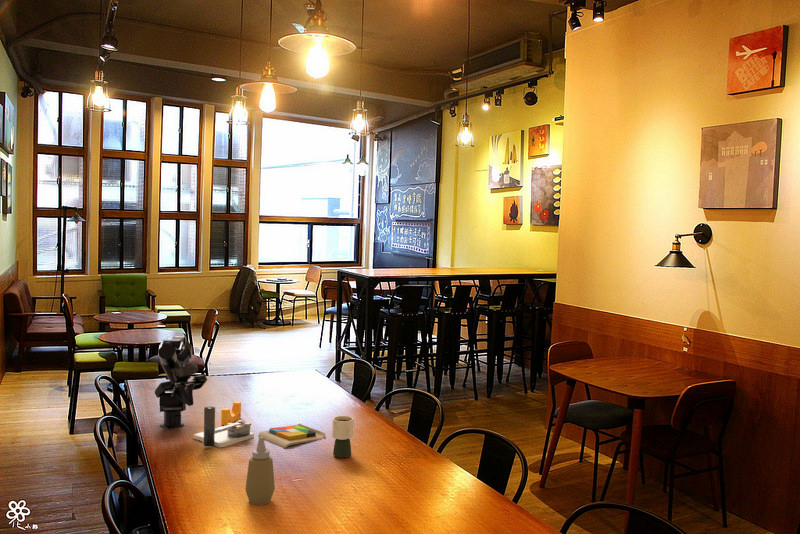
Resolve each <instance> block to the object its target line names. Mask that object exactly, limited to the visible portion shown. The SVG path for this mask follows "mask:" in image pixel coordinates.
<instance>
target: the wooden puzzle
mask: <svg viewBox="0 0 800 534" xmlns="http://www.w3.org/2000/svg"><path fill="white" fill-rule="evenodd" d="M260 437H263V438H264V441H265V442H268V443H271V444H272V445H275V446H278V447H280V448H283V449H286V448H288V447H289V446H292V445H293V446H294V445H298V444H304V443H311V442H315V440H316V441H319V440H318V439H320V440H322V439H321V438H323V439H325V438H326V433H325V432H323V431H321V430H318V429H316V428H314V427H310V426H308V425H304V424H302V423H298V424H294V425H286V426H285V425H284V426H279V427H278V426H277V427H270V428H269V429H268V430H264V431H261V432H259V433H258V439H259V438H260Z"/></svg>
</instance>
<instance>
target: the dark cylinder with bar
mask: <svg viewBox="0 0 800 534" xmlns="http://www.w3.org/2000/svg"><path fill="white" fill-rule="evenodd" d="M203 413H204V414H203V432H204V442H203V447H208V448H209V447H211V448H212V447H215V446H214V442H215V433H219V432H222V431H226V430H227V435H228V436H230V437H245V436H248V435H249V434H250V432H251V426H252V422H245V421H244V420H243V419H238V420H236V422H233V423H227V425H226V426H219V428H218V427H216V407H215V406H209V405H208V406H205V407H203Z"/></svg>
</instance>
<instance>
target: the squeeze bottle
mask: <svg viewBox="0 0 800 534" xmlns="http://www.w3.org/2000/svg"><path fill="white" fill-rule="evenodd" d="M257 441H258V442H257V446H256V448H255V449H253V450H252V456H251V458H250V459H248V466H247V471H246V472H247V474H246V480H245V483H246V484H245V492H246V493H245V494H246V495H247V496H246V497H247V499H248V502H249V504H251V505H254V506H263V505H266V504H268V503H270V502H271V500H272V497H273V494H274V493H275V492H274V491H275V489H276V487H275V475H274V474H275V473H274V471H275V470H274V461H273V458H272V457H271V456H270V449H268V448H266V445H265V440H264V438H263V437H260V438H259V437H258V440H257Z"/></svg>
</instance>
